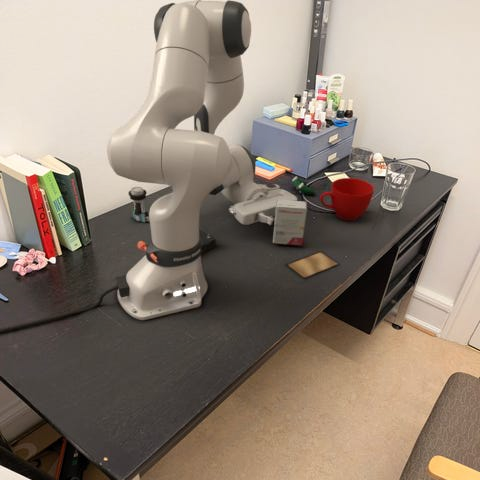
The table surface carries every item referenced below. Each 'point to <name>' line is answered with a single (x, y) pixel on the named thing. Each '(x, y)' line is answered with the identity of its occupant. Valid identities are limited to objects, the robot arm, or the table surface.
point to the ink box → (289, 222)
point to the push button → (139, 204)
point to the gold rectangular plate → (312, 265)
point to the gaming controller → (302, 186)
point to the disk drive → (206, 240)
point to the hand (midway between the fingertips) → (282, 219)
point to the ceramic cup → (349, 197)
